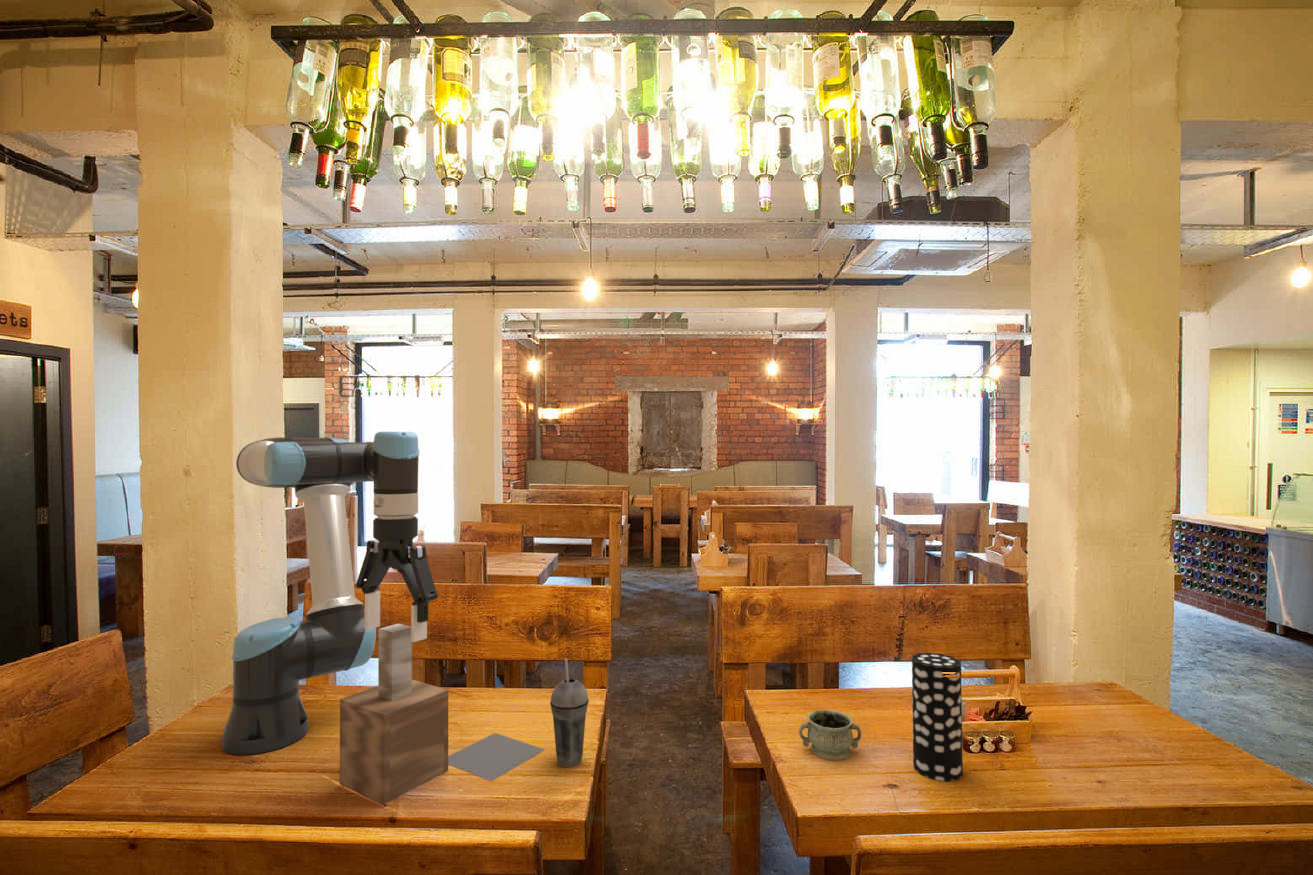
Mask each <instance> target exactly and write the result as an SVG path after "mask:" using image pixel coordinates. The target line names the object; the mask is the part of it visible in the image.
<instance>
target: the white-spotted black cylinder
mask: <svg viewBox="0 0 1313 875" xmlns="http://www.w3.org/2000/svg"><path fill="white" fill-rule="evenodd" d="M911 668H912V669H911V679H912V680H911V682H912V683H911V688H912V689H911V690H912V694H911V695H912V696H911V698H912V700H911V701H912V766H913V769H914V770H915V771H916V773H918V774H920V775H921V776H924V777H926V778H928V779H932V780H936V781H940V782H942V781H943V782H953V781H957V780H960V779H961V778H962V777H963V774H964V773H963V765H964V764H963V712H962V711H963V708H962V706H963V705H962V704H963V703H962V702H963V701H962V699H963V698H962V662H961V660H960V659H958V658H956V657H954V656H951V655H949V654H948V655H947V654H944V653H943V654H942V653H936V652H919V653H915V654H913V655H912V656H911ZM942 672H956V673H955V674H943V673H942ZM945 675H954V676H959V677H961V678H947V677H942V676H945Z"/></svg>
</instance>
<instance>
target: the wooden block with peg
mask: <svg viewBox="0 0 1313 875" xmlns="http://www.w3.org/2000/svg"><path fill="white" fill-rule="evenodd" d="M412 644H413V642H411V625H405V624H401V623H396V624H392V625H387V626H385V627H384V626H383V627H380V628H378V645H377V646H378V652H377V653H378V655H377V656H378V657H377V658H378V664H377V665H378V666H377V667H378V677H377V678H378V680H377V682H378V684H377V685H376V686H374V687H371V688H368V689H364V690H361V691H359V692H356V693H353V694H350V695H348V696H344V697H342V698H340V699H339V785H340V786H342V787H343V788H346V789H347V790H350V791H352V792H355V793H356V794H358V795H361V796H362V797H365V798H367V799H369V800H372V801H374V802H375V803H377V804H379V805H381V806H384V807H386V806H387V803H389V802H391V801H393V800H395V799H397V798H399V797H401V796H403V795H404V794H406V793H408V792H410V791H412V790H414V789H416V788H418V787H419V786H422V785H423V784H425V783H427V782H429V781H431V780H433V779H435V778H437V777H439V776H441V775H442V774H444V773H446V772H448V771H449V765H448V756H449V689H445V688H442V687H439V686H437V685H432V684H429V683H426V682H422V681H419V680H415V679H413V678H412V677H413V676H412V675H413V672H412V671H413V668H412V667H413V666H412V665H413V664H412V663H413V662H412V659H413V657H412V656H413V653H412V652H413V649H412V648H413V645H412Z"/></svg>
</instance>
